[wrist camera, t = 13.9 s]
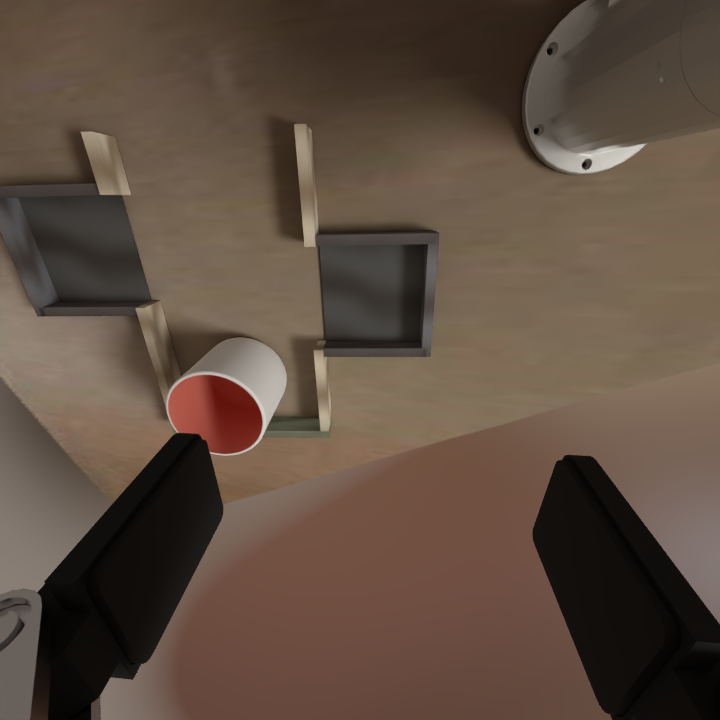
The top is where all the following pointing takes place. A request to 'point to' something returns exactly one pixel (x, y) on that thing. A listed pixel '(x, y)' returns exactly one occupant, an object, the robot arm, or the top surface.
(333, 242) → the box
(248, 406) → the cup
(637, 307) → the top surface
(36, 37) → the top surface
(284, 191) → the top surface
